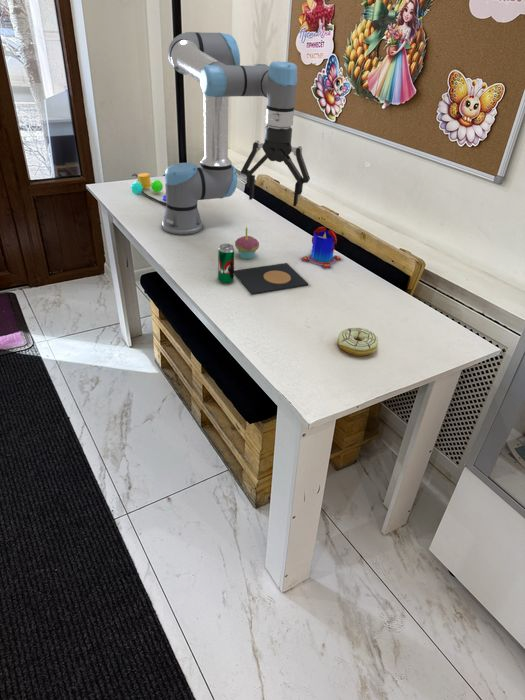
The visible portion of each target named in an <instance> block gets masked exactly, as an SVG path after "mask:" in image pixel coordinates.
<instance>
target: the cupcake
mask: <svg viewBox="0 0 525 700" xmlns="http://www.w3.org/2000/svg"><path fill="white" fill-rule="evenodd" d="M248 229H249V228H248V226H246V225H245V235H242V236H240V237H238V238H237V239H236V240H235V241H234V248H236V250H237V251H238V253H239V257H240V258H241V259H242V260H243V259H244V260H251V259H253V258H254V256H255V254H256V252H257V251H258V250H259V248H260V242H259V240H258V239H257V238H254V237H253V236H251V235H248Z"/></svg>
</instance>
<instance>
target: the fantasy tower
mask: <svg viewBox="0 0 525 700" xmlns="http://www.w3.org/2000/svg"><path fill="white" fill-rule="evenodd" d="M337 241H338V238H337V235H336V233H335V232H334V231H333V230H331V229H327V227H325V226H320V227H317V228H316V229H315V230H314V231H313V236H311V243H312V246H311V254H310V255H309V256H307V255H306V256H303V257H301V261H302V262H306V263H311V264H315V265H318V266H320V267H321V268H323V269H326V270H327V269H331V268H332V266H331V265H333V264H334V263H336V262H339V261H342V259H341V257H340V256H339V255H334V253H335V249H336V247H335V245H337Z"/></svg>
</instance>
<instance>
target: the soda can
mask: <svg viewBox="0 0 525 700" xmlns="http://www.w3.org/2000/svg"><path fill="white" fill-rule="evenodd" d="M235 251H236V250H235V247H234V245H233V244H231V243H221V244H220V245H219V247H218V250H217V252H218V253H217V254H218V255H217V263H218V264H217V280H218V282H219V283H221V284H223V285H228V284H229V285H230V284H232V282H234V280H235V274H234V270H235V254H236V253H235Z"/></svg>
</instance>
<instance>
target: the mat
mask: <svg viewBox="0 0 525 700" xmlns="http://www.w3.org/2000/svg"><path fill="white" fill-rule="evenodd" d="M234 276H235V277H236V278H237V279H238V280H239V281H240V282H241V284H242V285H243V286H244V287H245V289H246V290H247V291H248V292H249V293H250V294H251V295H253V296H254V295H258V294H260V295H261V294H265V293H271V292H277V291H283V290H290V289H295V288H302V287H309V283H308V282H307V281H306V280H305V279H304V278H303V277H302V276H301V275H300V274H299V273H298V272H297V271H296V270H295V269H294V268H292V266H290V265H289V264H288V263H287V262H285V263H277V264H270V265H263V266H256V267H250V268H242V269H234Z"/></svg>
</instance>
